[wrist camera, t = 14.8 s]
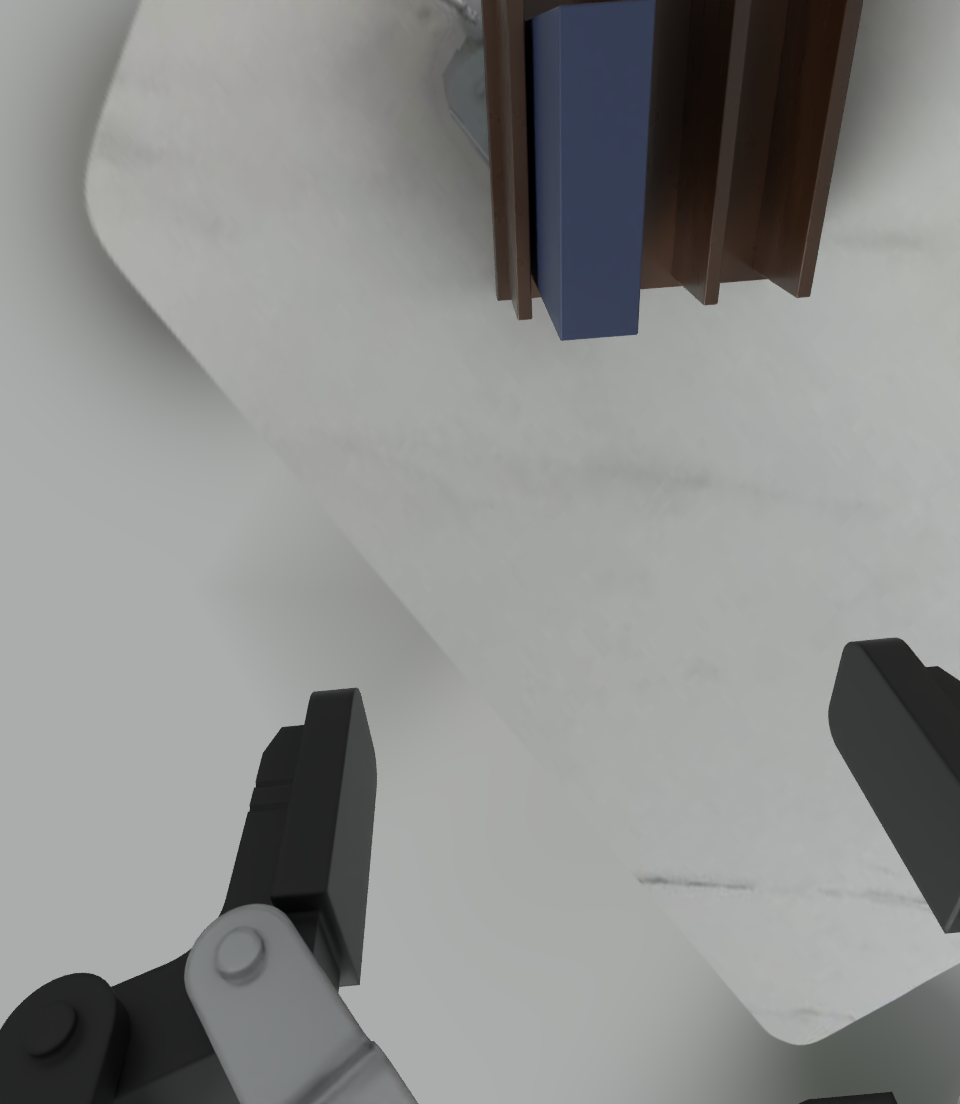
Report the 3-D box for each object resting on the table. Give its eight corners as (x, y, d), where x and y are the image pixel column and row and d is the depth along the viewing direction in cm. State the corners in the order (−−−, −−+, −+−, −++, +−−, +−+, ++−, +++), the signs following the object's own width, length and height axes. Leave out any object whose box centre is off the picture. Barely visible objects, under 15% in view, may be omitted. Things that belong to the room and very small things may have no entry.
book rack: (496, 296, 35) (506, 333, 30) (480, -22, 28) (489, -38, 24) (767, 274, 35) (820, 308, 30) (815, -48, 29) (891, -69, 24)
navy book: (526, 264, 34) (560, 341, 25) (519, 22, 29) (558, 5, 20) (583, 260, 34) (638, 335, 25) (586, 17, 29) (656, -3, 20)
